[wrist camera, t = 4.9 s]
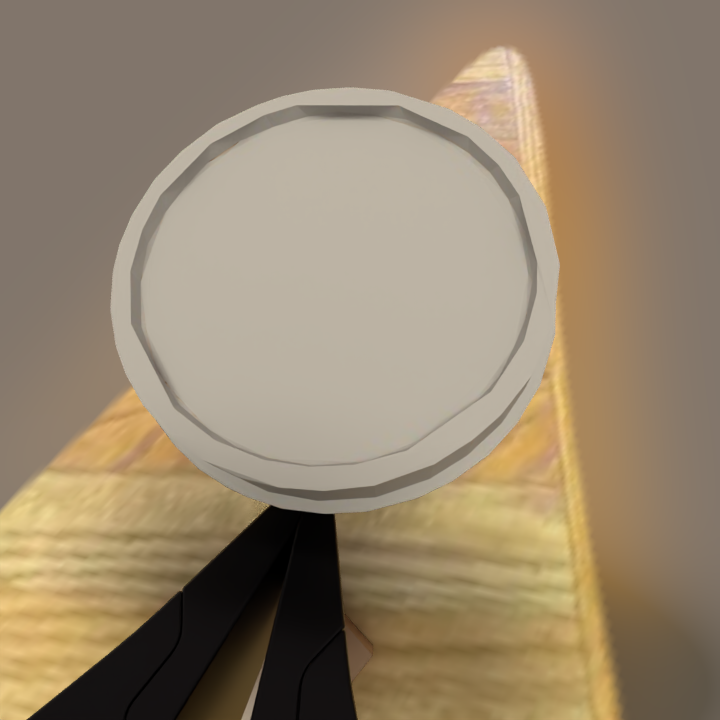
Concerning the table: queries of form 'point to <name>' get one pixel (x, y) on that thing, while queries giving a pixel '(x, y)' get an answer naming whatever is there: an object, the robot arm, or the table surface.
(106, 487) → the table surface
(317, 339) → the disposable coffee cup
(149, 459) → the table surface
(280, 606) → the robot arm
